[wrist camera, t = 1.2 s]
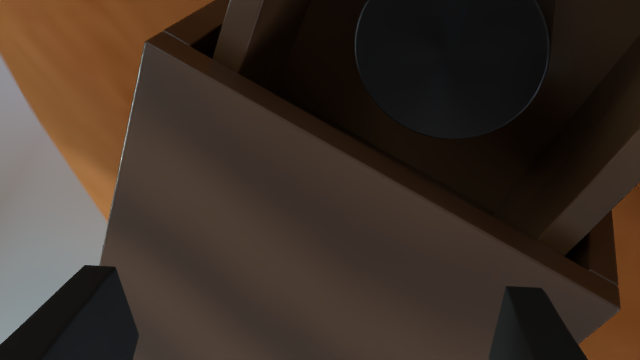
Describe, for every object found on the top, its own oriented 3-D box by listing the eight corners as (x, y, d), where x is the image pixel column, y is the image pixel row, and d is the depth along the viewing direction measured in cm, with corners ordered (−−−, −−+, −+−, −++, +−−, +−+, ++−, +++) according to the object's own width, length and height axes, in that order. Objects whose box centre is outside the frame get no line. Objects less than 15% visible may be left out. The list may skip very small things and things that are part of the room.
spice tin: (510, -125, 14) (486, -93, 10) (584, 14, 15) (587, 91, 11) (379, -33, 16) (318, 21, 13) (451, 82, 18) (416, 166, 14)
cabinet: (273, -36, 20) (143, 40, 14) (607, 147, 19) (621, 309, 13) (186, 225, 28) (82, 341, 22) (415, 358, 27) (371, 514, 22)
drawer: (420, -431, 13) (336, -553, 8) (898, -191, 12) (1090, -180, 8) (245, 74, 21) (157, 151, 17) (521, 229, 21) (507, 353, 16)
